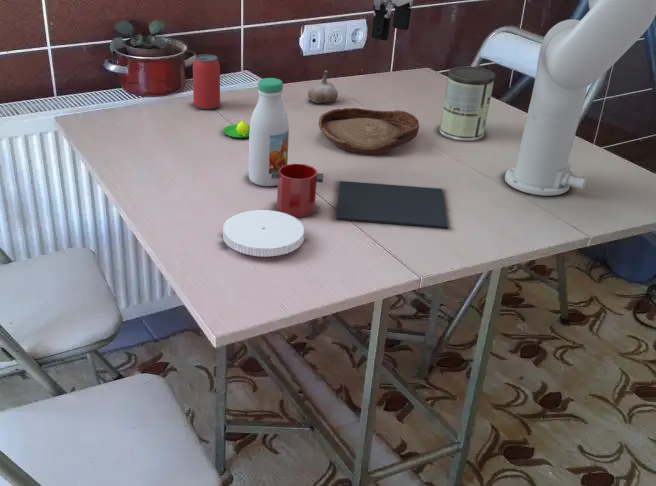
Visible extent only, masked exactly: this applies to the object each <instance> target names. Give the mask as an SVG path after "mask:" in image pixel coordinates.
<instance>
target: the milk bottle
mask: <svg viewBox="0 0 656 486" xmlns="http://www.w3.org/2000/svg"><path fill="white" fill-rule="evenodd" d="M283 87H284V83H283V81H282V80H281V79H279V78H275V77H266V78H261V79H259V80H258V83H257V88H258V91H257V92H258V94H259V95H258V100H257V103H256V105H255V107H254V110H253V112H252V114H251V117H250V121H249V126H250V132H249V137H248V178H249V180H250V182H251V183H253V184H255V185H257V186H262V187H275V186H278V179H273V178H271V176H272V172H273V170H279V168H281V167H282V166H284V165H288V161H289V160H288V159H289V158H288V157H289V137H290V136H289V134H290V133H289V132H290V131H289V130H290V129H289V128H290V126H289V118H288V114H287V112H286V110H285V107H284V104H283V100H282V94H283V89H284V88H283Z"/></svg>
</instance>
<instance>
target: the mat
mask: <svg viewBox="0 0 656 486" xmlns="http://www.w3.org/2000/svg"><path fill="white" fill-rule="evenodd" d="M336 220H337V221H349V222H359V223H361V222H363V223H372V224H373V223H375V224H385V225H396V226H397V225H398V226H410V227H411V226H412V227H423V228H435V229H437V228H438V229H448V220H447V214H446V208H445V201H444V196H443V189H442V188H437V187H425V186H424V187H423V186H411V185H396V184H384V183H382V184H381V183H368V182H360V181H359V182H357V181H345V180H340V181H339V191H338V200H337V211H336Z"/></svg>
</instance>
